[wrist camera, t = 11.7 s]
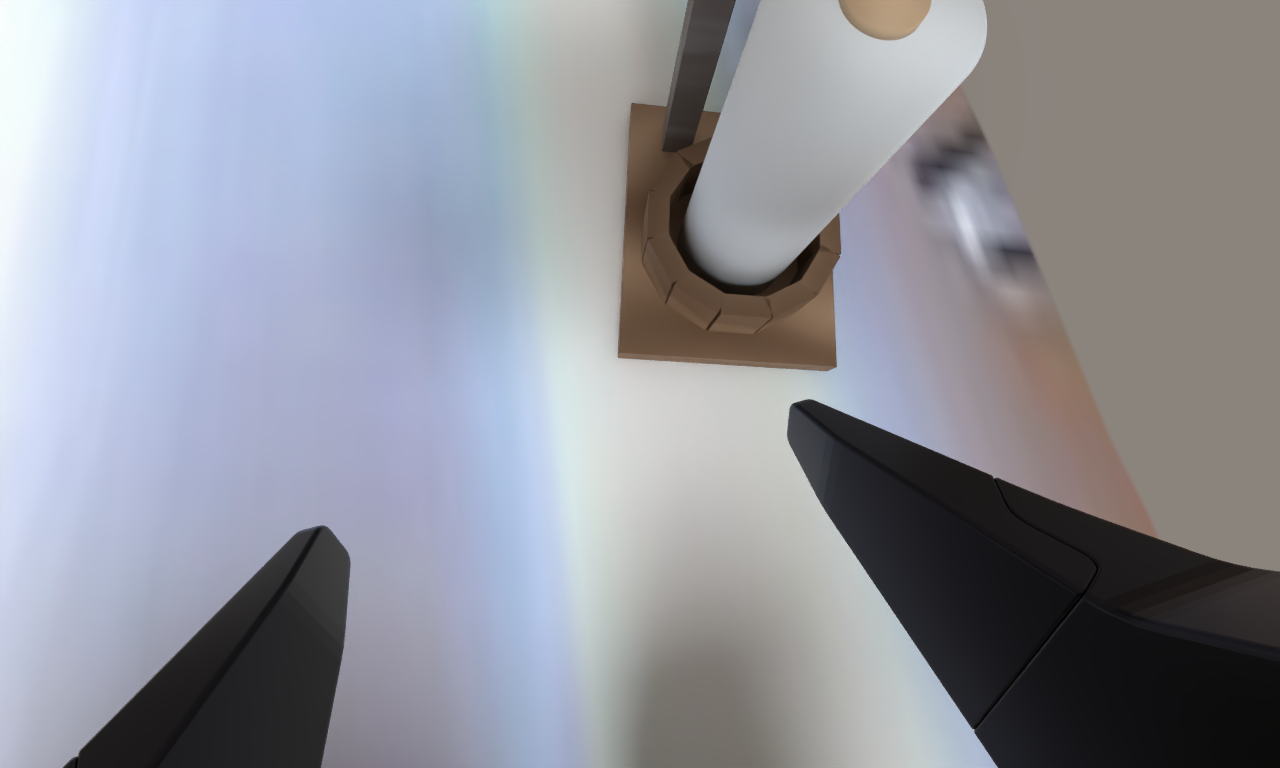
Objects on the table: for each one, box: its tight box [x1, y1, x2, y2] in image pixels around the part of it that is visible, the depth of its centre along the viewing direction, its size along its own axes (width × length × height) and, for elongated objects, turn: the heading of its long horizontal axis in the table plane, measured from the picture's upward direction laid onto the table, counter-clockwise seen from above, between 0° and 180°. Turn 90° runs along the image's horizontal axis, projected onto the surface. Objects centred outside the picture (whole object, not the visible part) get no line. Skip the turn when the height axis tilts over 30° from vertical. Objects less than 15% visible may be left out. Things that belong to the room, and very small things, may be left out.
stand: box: [618, 0, 841, 371], centre depth 18 cm, size 14×11×14 cm
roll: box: [677, 0, 987, 296], centre depth 18 cm, size 6×6×13 cm
